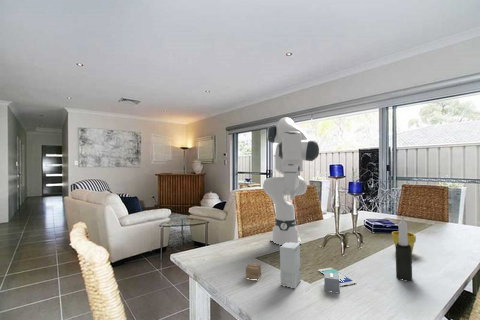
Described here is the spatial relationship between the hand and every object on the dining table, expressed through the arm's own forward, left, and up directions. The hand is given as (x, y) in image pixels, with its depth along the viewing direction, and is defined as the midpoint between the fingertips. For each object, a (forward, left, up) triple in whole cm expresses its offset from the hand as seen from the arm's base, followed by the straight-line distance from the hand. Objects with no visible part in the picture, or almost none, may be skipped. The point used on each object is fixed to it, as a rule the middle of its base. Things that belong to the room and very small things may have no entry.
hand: (292, 199), depth 106 cm
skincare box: (+11, 0, -31) cm, 33 cm away
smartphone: (0, +17, -32) cm, 36 cm away
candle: (-7, +43, -31) cm, 54 cm away
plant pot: (-40, +52, -31) cm, 73 cm away
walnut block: (+11, -15, -31) cm, 36 cm away
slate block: (+11, +15, -31) cm, 36 cm away
